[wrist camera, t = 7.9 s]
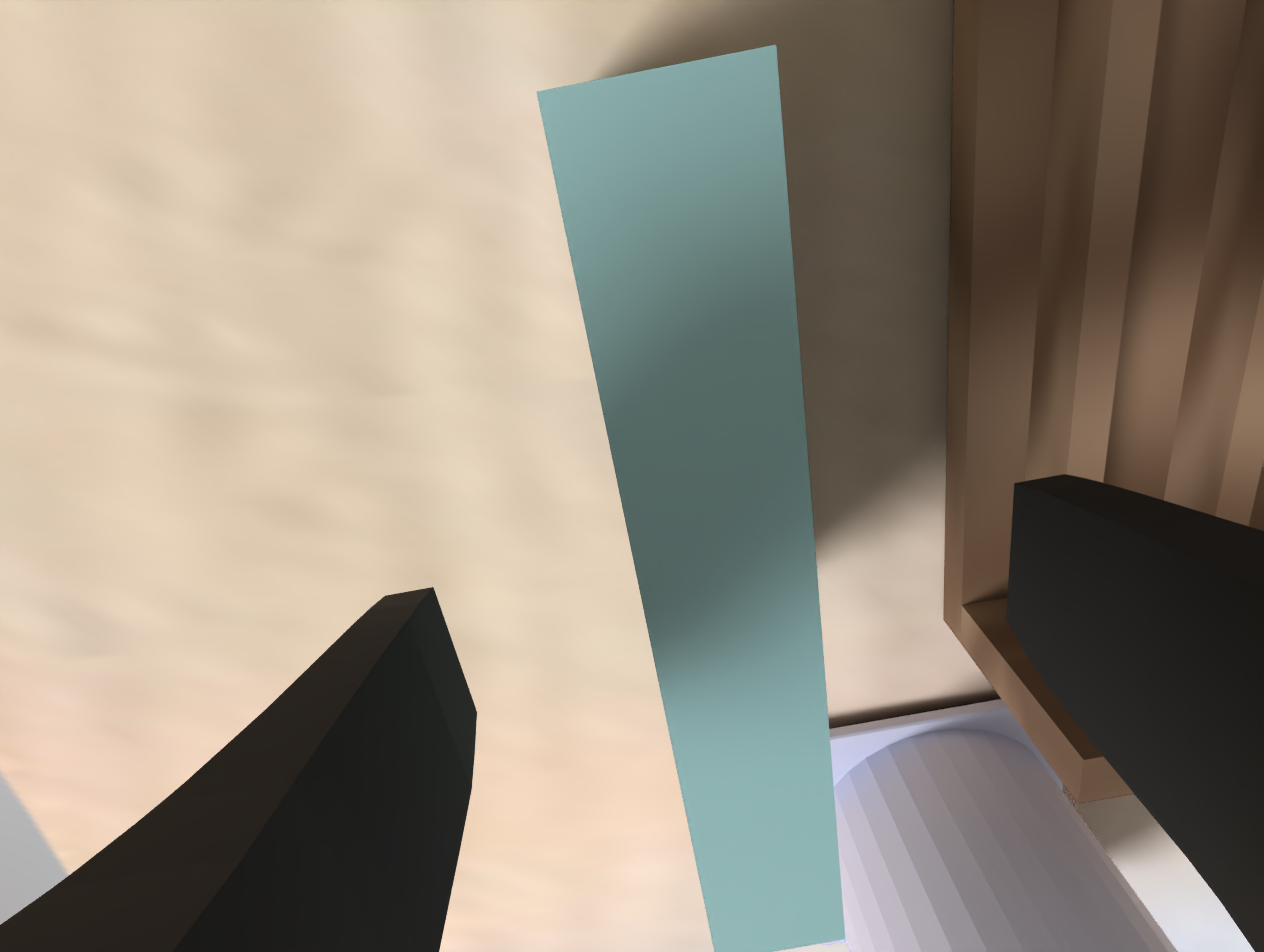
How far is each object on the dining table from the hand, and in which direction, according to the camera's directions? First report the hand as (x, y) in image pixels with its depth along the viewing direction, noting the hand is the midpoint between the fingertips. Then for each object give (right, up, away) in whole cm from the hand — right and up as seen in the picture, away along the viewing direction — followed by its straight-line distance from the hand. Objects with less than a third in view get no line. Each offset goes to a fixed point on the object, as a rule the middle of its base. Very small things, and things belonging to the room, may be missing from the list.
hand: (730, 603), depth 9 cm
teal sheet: (-1, +4, +8) cm, 8 cm away
